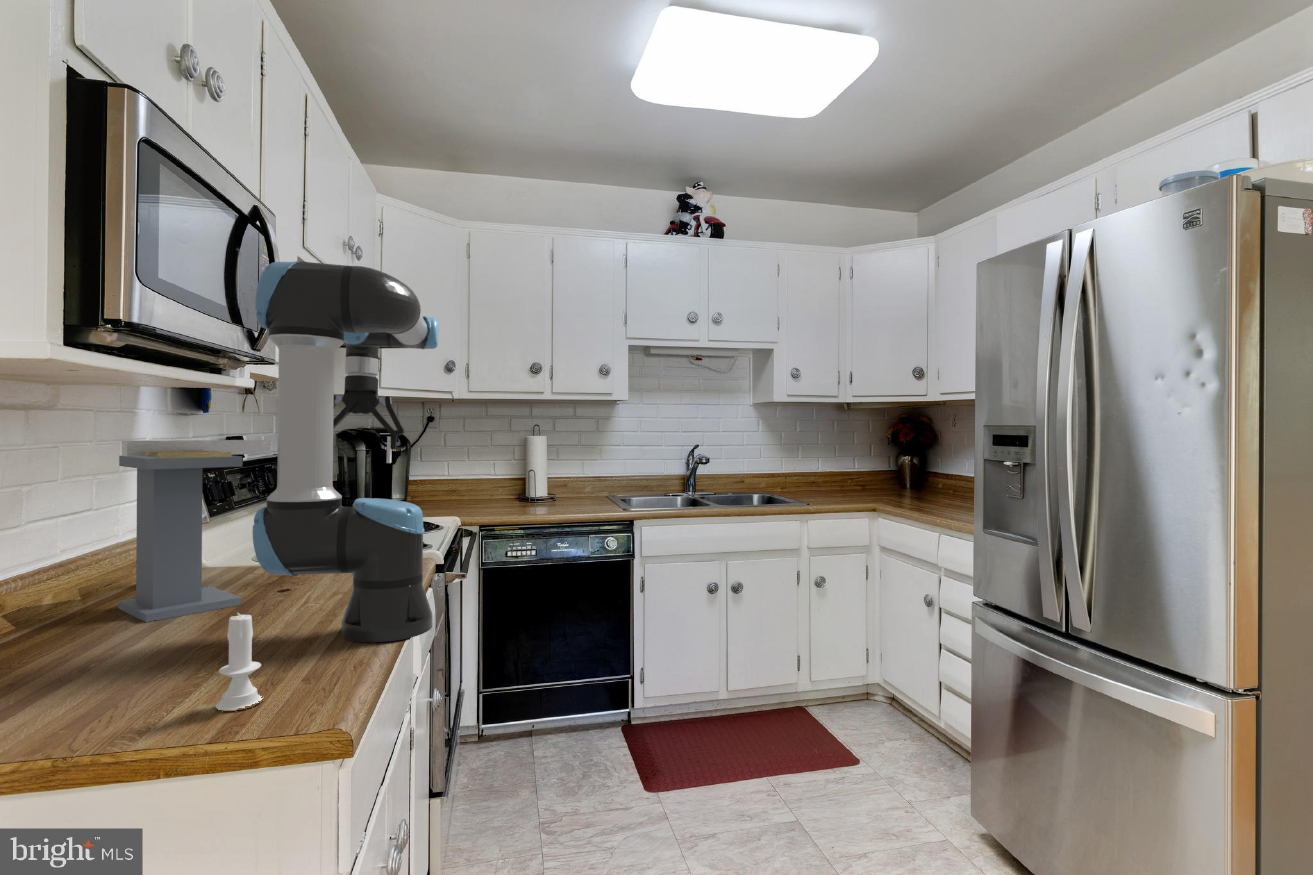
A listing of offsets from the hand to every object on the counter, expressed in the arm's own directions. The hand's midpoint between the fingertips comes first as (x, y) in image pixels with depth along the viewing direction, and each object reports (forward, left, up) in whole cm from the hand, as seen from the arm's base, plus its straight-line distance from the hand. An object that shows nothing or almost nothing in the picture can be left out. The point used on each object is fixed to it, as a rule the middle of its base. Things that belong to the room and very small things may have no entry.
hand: (359, 462), depth 163 cm
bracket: (-28, +26, +2) cm, 38 cm away
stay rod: (-18, +27, +2) cm, 33 cm away
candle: (-79, 0, -28) cm, 83 cm away
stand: (-25, +28, -28) cm, 47 cm away
